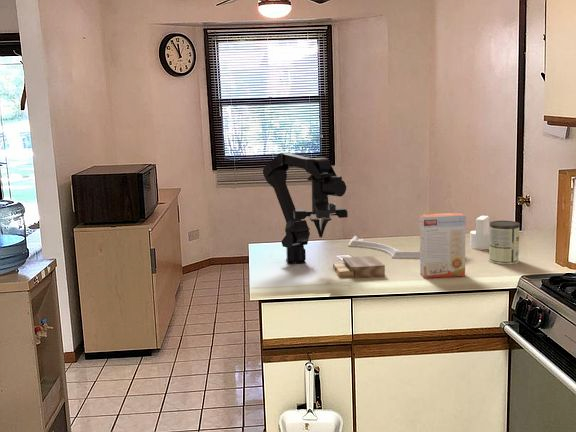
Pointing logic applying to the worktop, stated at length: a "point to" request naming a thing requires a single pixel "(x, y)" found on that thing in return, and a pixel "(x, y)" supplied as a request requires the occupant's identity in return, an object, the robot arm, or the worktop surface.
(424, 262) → the cracker box
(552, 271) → the worktop surface
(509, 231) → the coffee can
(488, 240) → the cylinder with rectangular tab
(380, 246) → the molding
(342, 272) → the oak plank
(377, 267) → the laid planks
